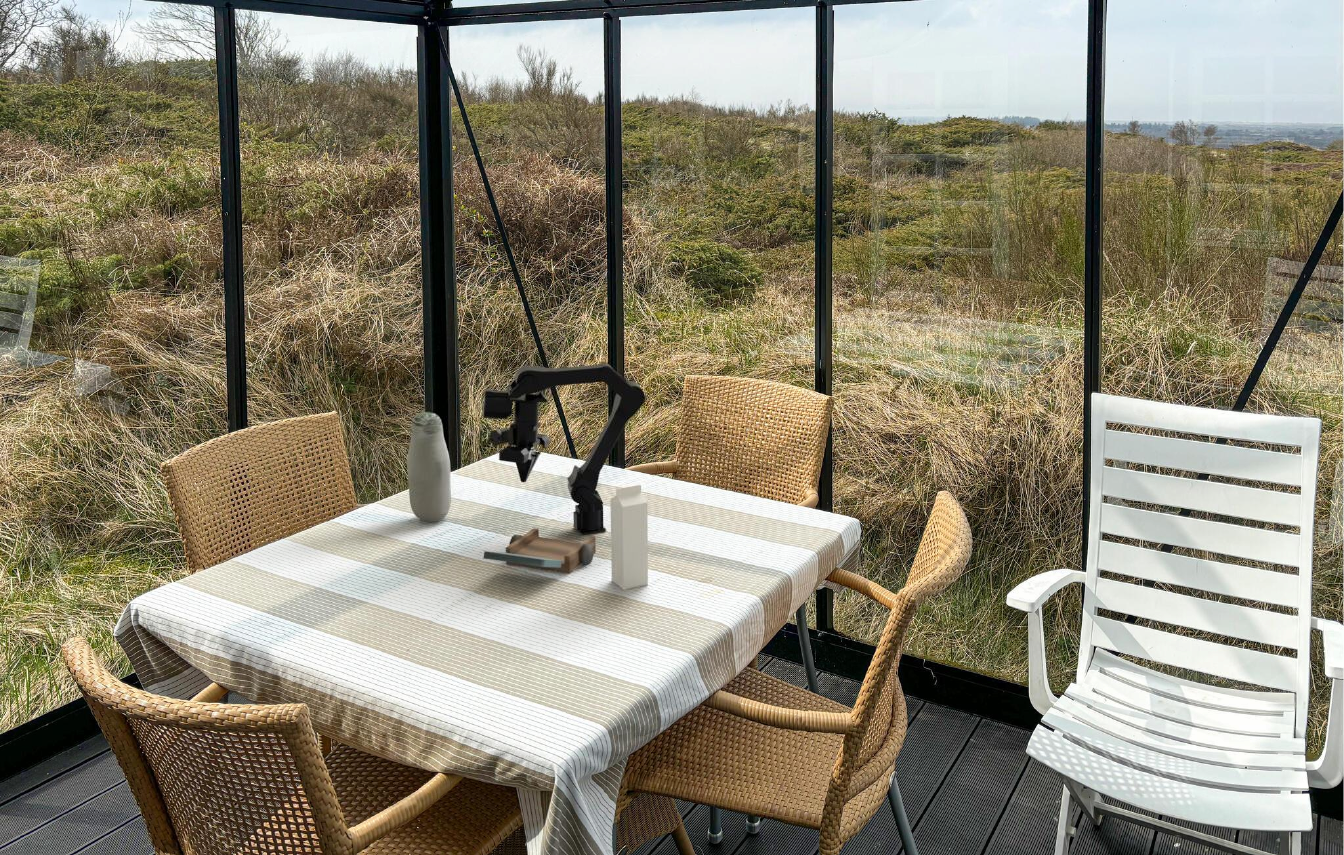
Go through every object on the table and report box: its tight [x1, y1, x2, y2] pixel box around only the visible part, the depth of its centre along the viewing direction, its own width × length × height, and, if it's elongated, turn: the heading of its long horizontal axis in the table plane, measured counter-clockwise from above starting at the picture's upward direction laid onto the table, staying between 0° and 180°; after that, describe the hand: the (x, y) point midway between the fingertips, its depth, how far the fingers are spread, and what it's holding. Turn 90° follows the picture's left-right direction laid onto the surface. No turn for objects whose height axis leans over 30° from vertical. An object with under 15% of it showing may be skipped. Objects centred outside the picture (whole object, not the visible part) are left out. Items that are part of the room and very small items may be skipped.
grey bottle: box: [406, 411, 452, 523], centre depth 288 cm, size 10×10×28 cm
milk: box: [609, 484, 649, 591], centre depth 249 cm, size 6×6×22 cm
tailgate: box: [483, 550, 562, 568], centre depth 252 cm, size 2×14×10 cm
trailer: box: [505, 527, 597, 575], centre depth 265 cm, size 14×19×4 cm
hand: (523, 481), depth 278 cm, fingers closed
